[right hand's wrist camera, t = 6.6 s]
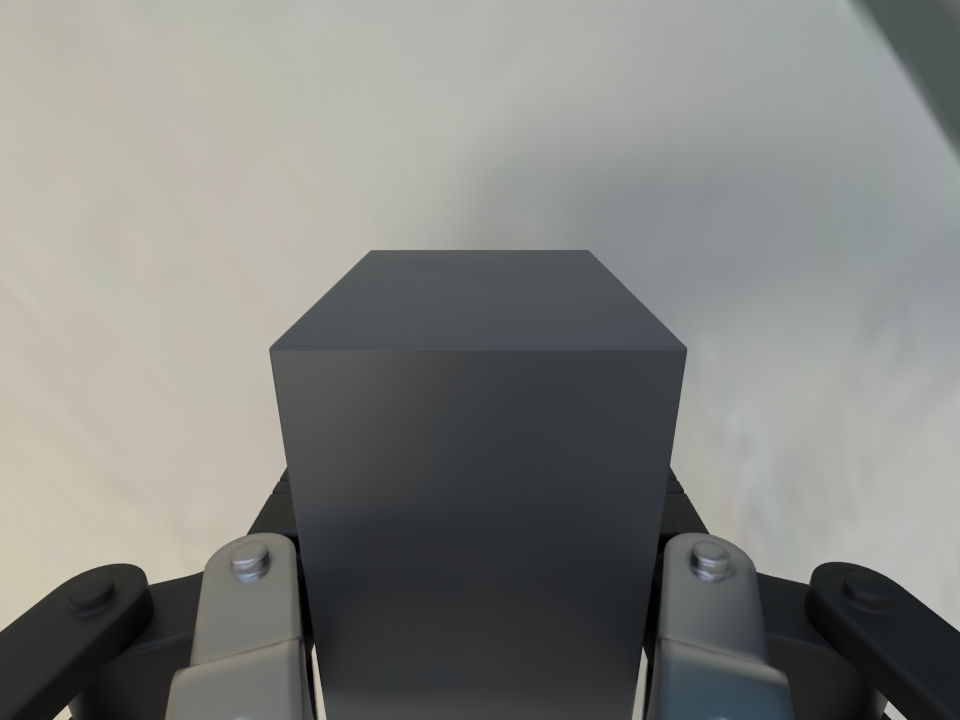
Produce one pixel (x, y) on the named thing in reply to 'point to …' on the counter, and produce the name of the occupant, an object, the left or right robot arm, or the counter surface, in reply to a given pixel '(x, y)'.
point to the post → (478, 482)
